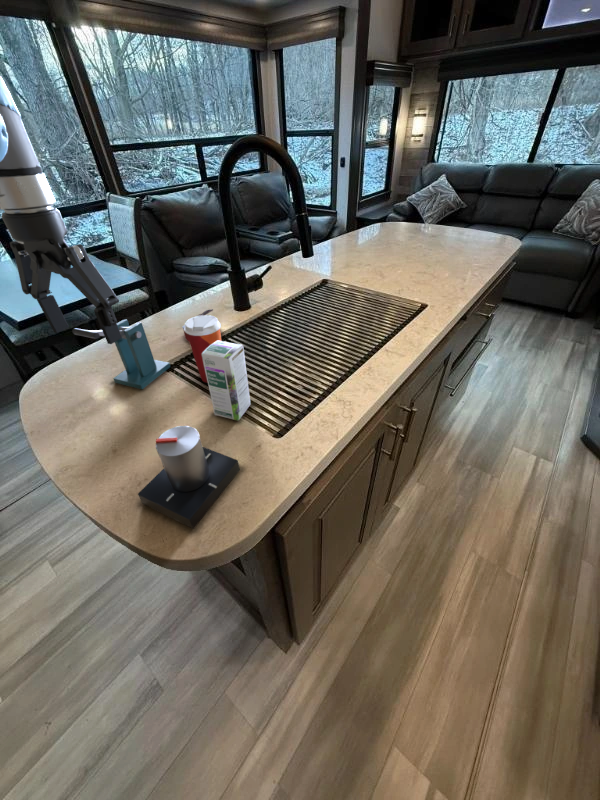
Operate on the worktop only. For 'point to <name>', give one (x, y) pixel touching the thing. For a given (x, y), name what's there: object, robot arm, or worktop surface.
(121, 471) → the worktop surface
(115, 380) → the teal lever stand
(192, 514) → the control panel
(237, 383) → the syrup box
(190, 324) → the paper cup
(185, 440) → the dial
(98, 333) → the lever
